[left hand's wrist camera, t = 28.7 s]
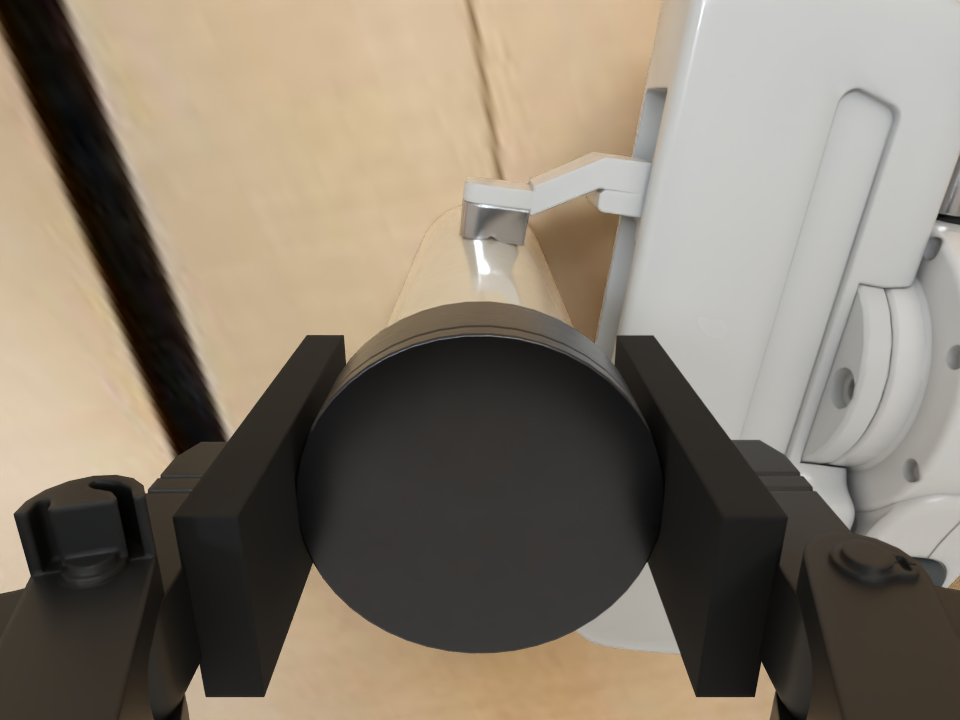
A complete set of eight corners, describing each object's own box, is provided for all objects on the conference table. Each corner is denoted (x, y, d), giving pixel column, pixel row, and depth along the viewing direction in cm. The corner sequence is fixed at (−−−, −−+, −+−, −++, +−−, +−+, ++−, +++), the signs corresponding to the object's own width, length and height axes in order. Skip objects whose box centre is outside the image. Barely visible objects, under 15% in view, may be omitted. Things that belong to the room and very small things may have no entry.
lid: (367, 608, 13) (351, 678, 12) (276, 338, 11) (243, 377, 10) (659, 558, 13) (684, 624, 11) (617, 268, 11) (641, 296, 9)
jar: (520, 184, 25) (574, 297, 10) (558, 302, 26) (649, 540, 12) (399, 227, 25) (294, 389, 11) (443, 340, 27) (401, 611, 13)
